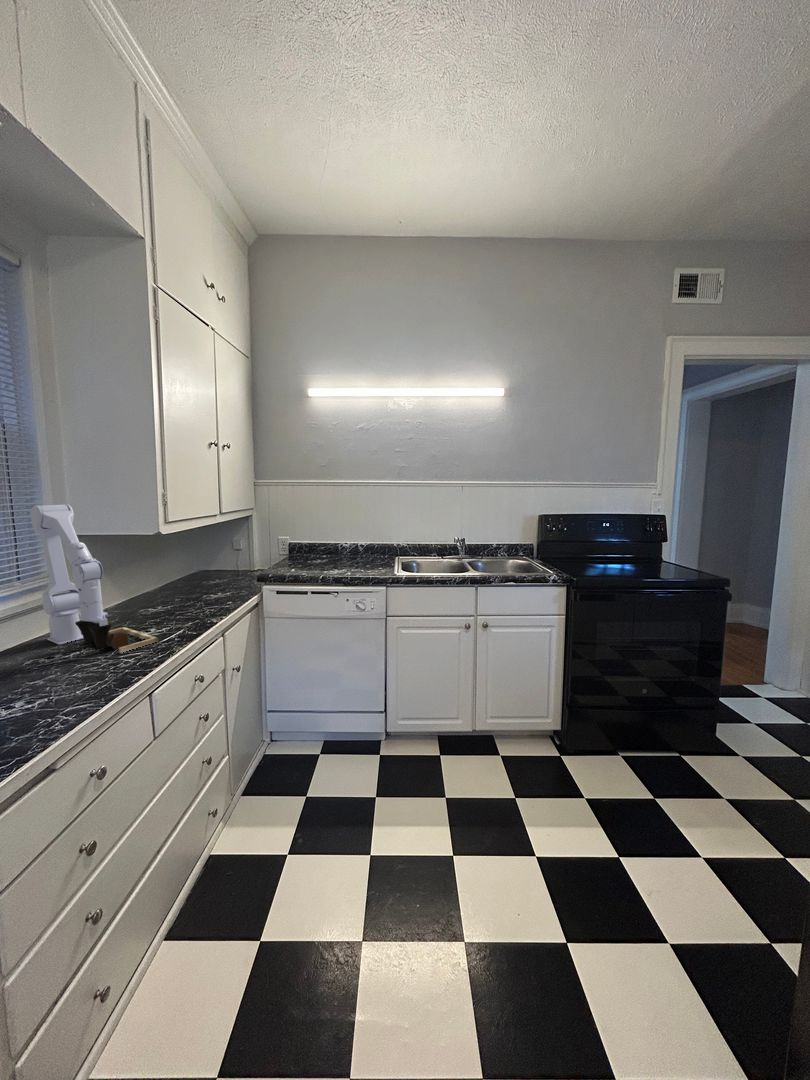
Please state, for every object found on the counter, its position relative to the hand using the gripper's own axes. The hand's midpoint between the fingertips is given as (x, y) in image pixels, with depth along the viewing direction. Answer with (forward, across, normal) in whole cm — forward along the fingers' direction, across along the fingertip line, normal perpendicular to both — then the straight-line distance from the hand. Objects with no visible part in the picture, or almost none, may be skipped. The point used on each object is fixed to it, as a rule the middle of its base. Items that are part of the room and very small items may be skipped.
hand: (95, 644), depth 145 cm
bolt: (+2, +2, -4) cm, 5 cm away
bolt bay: (+1, 0, -7) cm, 7 cm away
